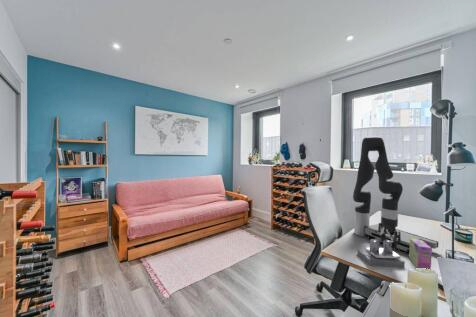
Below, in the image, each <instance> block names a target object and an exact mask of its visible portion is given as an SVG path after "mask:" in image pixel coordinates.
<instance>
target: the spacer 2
mask: <svg viewBox="0 0 476 317" xmlns="http://www.w3.org/2000/svg"><path fill="white" fill-rule="evenodd" d="M391 243H392V241H390V240H384V241H383V246H382V248H383V251H384V252H385V253H388V254H393V252H394V249H392V248H391Z"/></svg>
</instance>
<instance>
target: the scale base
mask: <svg viewBox="0 0 476 317" xmlns="http://www.w3.org/2000/svg"><path fill="white" fill-rule="evenodd" d="M357 255H358V256H359V257H360V258H361V259H362V260H363V261H364V262H365V263H366V264H367V265H368V266H370V267H373V266H374V267H393V268H405V262H406V261H405V260H403V259H398V258H376V257H374V256H373V255H372V254H371V253H370V252H368V251H367V250H366V249H359V248H357Z"/></svg>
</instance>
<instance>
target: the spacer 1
mask: <svg viewBox="0 0 476 317" xmlns="http://www.w3.org/2000/svg"><path fill="white" fill-rule="evenodd" d="M369 248H370V251H371V252H373V253H379V248H380V243H379V241H377V240H374V239H371V240H369Z"/></svg>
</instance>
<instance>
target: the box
mask: <svg viewBox="0 0 476 317" xmlns="http://www.w3.org/2000/svg"><path fill="white" fill-rule="evenodd" d="M432 253H433V248H431V247H430V246H428V245H427V244H426V243H425V242H424V241H423V240H418V239H411V238H410V250H409V255H408V259H410V261H411V262H412V263H413V265H414V266H415V267H416V268H418V269H422V268H428V269H432V255H433V254H432ZM428 269H427V270H428Z"/></svg>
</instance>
